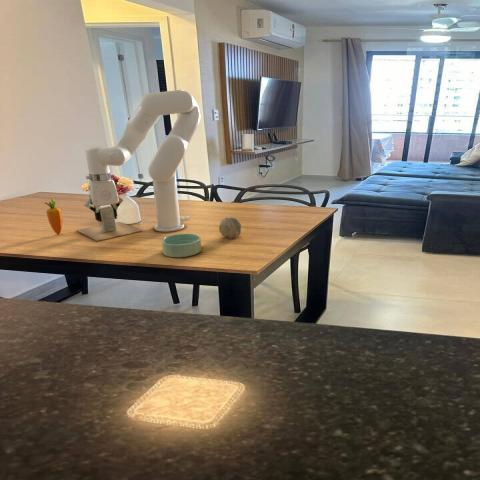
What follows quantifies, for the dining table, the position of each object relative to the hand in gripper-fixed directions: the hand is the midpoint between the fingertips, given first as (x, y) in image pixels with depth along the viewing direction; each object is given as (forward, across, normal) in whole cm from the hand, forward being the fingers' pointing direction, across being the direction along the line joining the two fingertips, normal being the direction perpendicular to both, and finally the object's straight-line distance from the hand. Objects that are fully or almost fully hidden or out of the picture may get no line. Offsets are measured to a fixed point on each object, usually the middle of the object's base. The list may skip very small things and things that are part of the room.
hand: (106, 219), depth 163 cm
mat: (+5, 0, 0) cm, 5 cm away
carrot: (+6, -16, +10) cm, 20 cm away
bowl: (+5, +7, -45) cm, 46 cm away
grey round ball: (+5, +30, -44) cm, 54 cm away
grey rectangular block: (+5, 0, 0) cm, 5 cm away
